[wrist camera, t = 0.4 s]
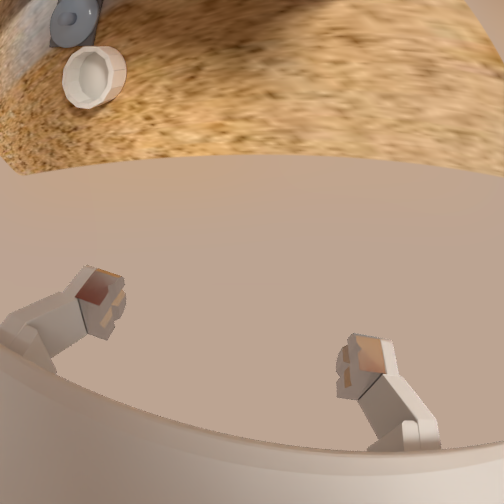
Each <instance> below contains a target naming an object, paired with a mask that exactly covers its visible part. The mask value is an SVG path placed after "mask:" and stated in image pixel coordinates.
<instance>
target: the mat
mask: <svg viewBox="0 0 504 504" xmlns="http://www.w3.org/2000/svg"><path fill="white" fill-rule="evenodd" d="M60 1H61V0H58V3H57V5H58V4H59V3H60ZM102 1H103V0H97V2H98V5H99V14H100V10H101V5H102ZM98 19H99V16H98ZM97 24H98V21H97V23H96V26H95V28H94V30H93V31H92V33H91V34H90V36H89V37H88V38H87V39H86V40H85V41H84V42H82V43H81V44H79V45H77V46H93V45H94V39H95V34H96V28H97ZM50 47H60V46H58V45H57V44H56V43H55V42H54V41H53V39H52V37H51V40H50Z"/></svg>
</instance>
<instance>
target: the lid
mask: <svg viewBox="0 0 504 504" xmlns="http://www.w3.org/2000/svg"><path fill="white" fill-rule="evenodd" d="M98 16H99V5H98V2H97V0H61V1H60V3H59V4H58V5H57V7H56V8H55V10H54V12H53V14H52V17H51V21H50V34H51V37H52V39H53V41H54V42H55V43H56V44H57V45H58V46H60V47H64V48H69V47H75V46H77V45H79V44H81V43H82V42H84V41H85V40H86V39H87V38H88V37H89V36H90V34H91V33H92V31H93V30H94V28H95V26H96V23H97V21H98Z"/></svg>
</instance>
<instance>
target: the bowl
mask: <svg viewBox="0 0 504 504" xmlns="http://www.w3.org/2000/svg"><path fill="white" fill-rule="evenodd" d="M126 76H127V67H126V62H125V60H124V57H123V56H122V54H121V53H120V52H119V51H118V50H117V49H115V48H113V47H111V46H84V47H82V48H81V49H79V50H78V51H76V52H75V53H73V54H72V55H71V56H70V58H69V60H68V62H67V63H66V65H65V67H64V70H63V79H62V86H63V89H64V92H65V95H66V98H67V99H68V100H69V101H70V102H71V103H72V104H74V105H75V106H76V107H78V108H86V109H91V108H94V107H96V106H99V105H102V104H104V103H106V102H109V101H111V100H112V99H114V98H115V97H116V96H117V95H118V94H119V93H120V92H121V90H122V88H123V86H124V84H125V81H126Z"/></svg>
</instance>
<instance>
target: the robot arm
mask: <svg viewBox="0 0 504 504" xmlns="http://www.w3.org/2000/svg"><path fill="white" fill-rule="evenodd" d="M124 285H125V284H124V278H123V277H122V276H119V275H116V274H113V273H110V272H107V271H104V270H101V269H98V268H95V267H92V266H89V265H86V266H84V267H83V268H82V269H81V270H80V272H79V273H78V274H77V275H76V276H75V278H74V279H73V280H72V281H71V282H70V284H69V285H68V286H67V288H66V289H65V290H64V291H63V293H61V292H58V293H55V294H53V295H51V296H48V297H46V298H44V299H41V300H39V301H37V302H35V303H33V304H30V305H28V306H26V307H24V308H21V309H19V310H17V311H15V312H12V313H10V314H9V315H8V316H7V317H6V319H5V320H4V322H2V324H1V325H0V504H504V441H499V442H493V443H488V444H481V445H476V446H467V447H459V448H450V449H441V443H440V437H439V430H438V424H437V420H436V418H435V417H434V416H433V415H432V413H431V412H430V411H429V410H428V408H427V407H426V406H425V404H424V403H423V402H422V400H421V399H420V398H419V397H418V395H417V394H416V393H415V392H414V390H413V389H412V388H411V387H410V385H409V384H408V383H407V382H406V381H405V379H404V378H403V377H402V376H399V373H398V368H397V362H396V358H395V352H394V348H393V343H392V341H391V340H390V339H384V338H377V337H373V336H367V335H361V334H355V333H353V334H351V335H350V337H349V338H348V345H346V346H344V347H342V349H341V351H340V352H339V355H338V358H337V362H336V372H337V373H338V375H339V376H340V378H339V379H338V381H337V397H338V398H345V399H351V400H358V403H359V405H360V407H361V408H362V410H363V412H364V414H365V416H366V417H367V419H368V421H369V423H370V425H371V427H372V428H373V430H374V432H375V434H376V436H377V437H378V439H379V440H378V441H377V442H375V443H374V444H372V445H371V446H370V447H368V448H367V451H344V450H330V449H318V448H309V447H299V446H292V445H284V444H277V443H271V442H265V441H259V440H254V439H248V438H243V437H238V436H234V435H229V434H224V433H220V432H216V431H211V430H207V429H203V428H199V427H195V426H192V425H188V424H185V423H181V422H178V421H174V420H171V419H167V418H164V417H161V416H158V415H155V414H152V413H149V412H146V411H143V410H140V409H137V408H134V407H131V406H129V405H126V404H123V403H121V402H118V401H115V400H113V399H110V398H108V397H105V396H103V395H100V394H98V393H96V392H93V391H91V390H88V389H86V388H84V387H81V386H79V385H77V384H75V383H73V382H70V381H69V380H66V379H64V378H62V377H60V376H58V375H56V373H57V371H56V368H55V366H54V364H53V362H52V360H51V358H52V357H54V356H55V355H57V354H59V353H60V352H61V351H63V350H65V349H66V348H68V347H69V346H71V345H72V344H74V343H75V342H77V341H78V340H80V339H81V338H83V337H85V336H86V335H87V334H90V335H93V336H96V337H98V338H101V339H104V340H108V338H109V336H110V334H111V333H112V331H113V330H114V328H115V326H114V321H115V320H117V319H119V318H120V317H121V315H122V313H123V311H124V308H125V305H126V294H125V292H124V291H123V290H122V288H123V287H124Z"/></svg>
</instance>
